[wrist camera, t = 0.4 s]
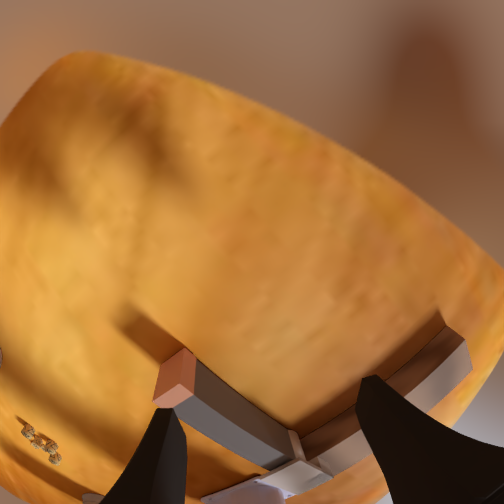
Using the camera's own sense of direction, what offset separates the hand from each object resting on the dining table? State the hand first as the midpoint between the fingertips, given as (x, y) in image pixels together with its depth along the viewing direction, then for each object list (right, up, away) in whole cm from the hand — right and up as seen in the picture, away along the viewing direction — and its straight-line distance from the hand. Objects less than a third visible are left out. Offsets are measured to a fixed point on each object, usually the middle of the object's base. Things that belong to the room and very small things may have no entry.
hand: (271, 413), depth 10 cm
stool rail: (+10, -9, +14) cm, 19 cm away
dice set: (-25, -16, +13) cm, 33 cm away
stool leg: (-2, -7, +12) cm, 14 cm away
